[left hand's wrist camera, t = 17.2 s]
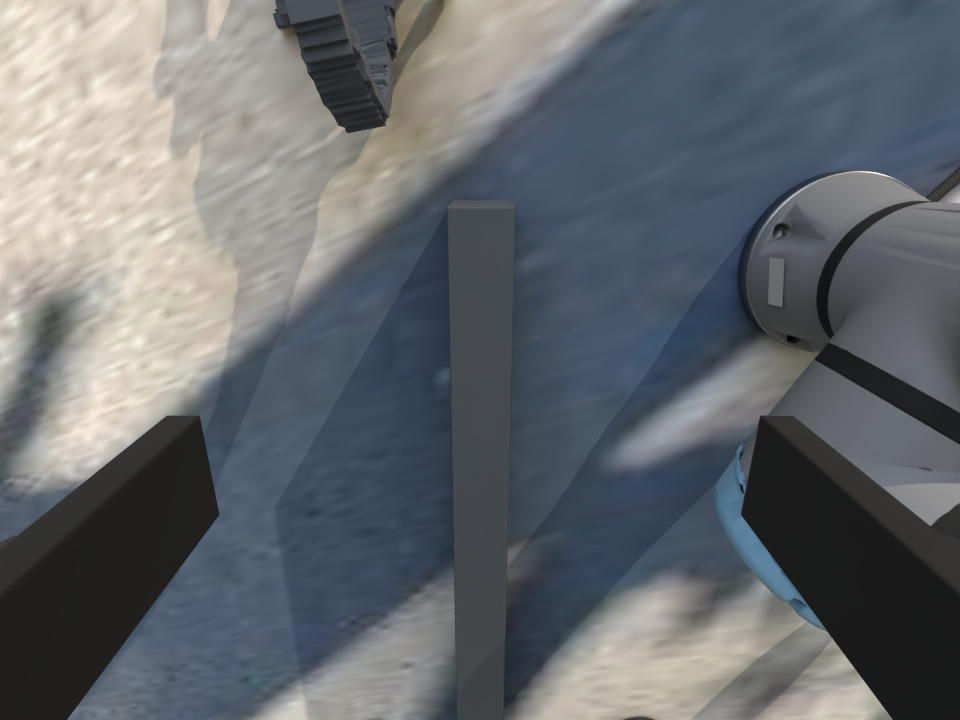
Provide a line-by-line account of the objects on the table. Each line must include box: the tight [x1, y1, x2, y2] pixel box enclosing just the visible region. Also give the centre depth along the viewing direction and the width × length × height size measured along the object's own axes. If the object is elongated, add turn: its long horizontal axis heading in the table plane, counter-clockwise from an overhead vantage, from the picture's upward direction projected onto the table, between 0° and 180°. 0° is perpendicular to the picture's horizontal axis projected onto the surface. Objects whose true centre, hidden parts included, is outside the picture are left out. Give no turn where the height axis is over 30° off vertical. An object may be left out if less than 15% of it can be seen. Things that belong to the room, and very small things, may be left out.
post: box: [447, 200, 515, 720], centre depth 52 cm, size 63×5×8 cm, turn 0°
